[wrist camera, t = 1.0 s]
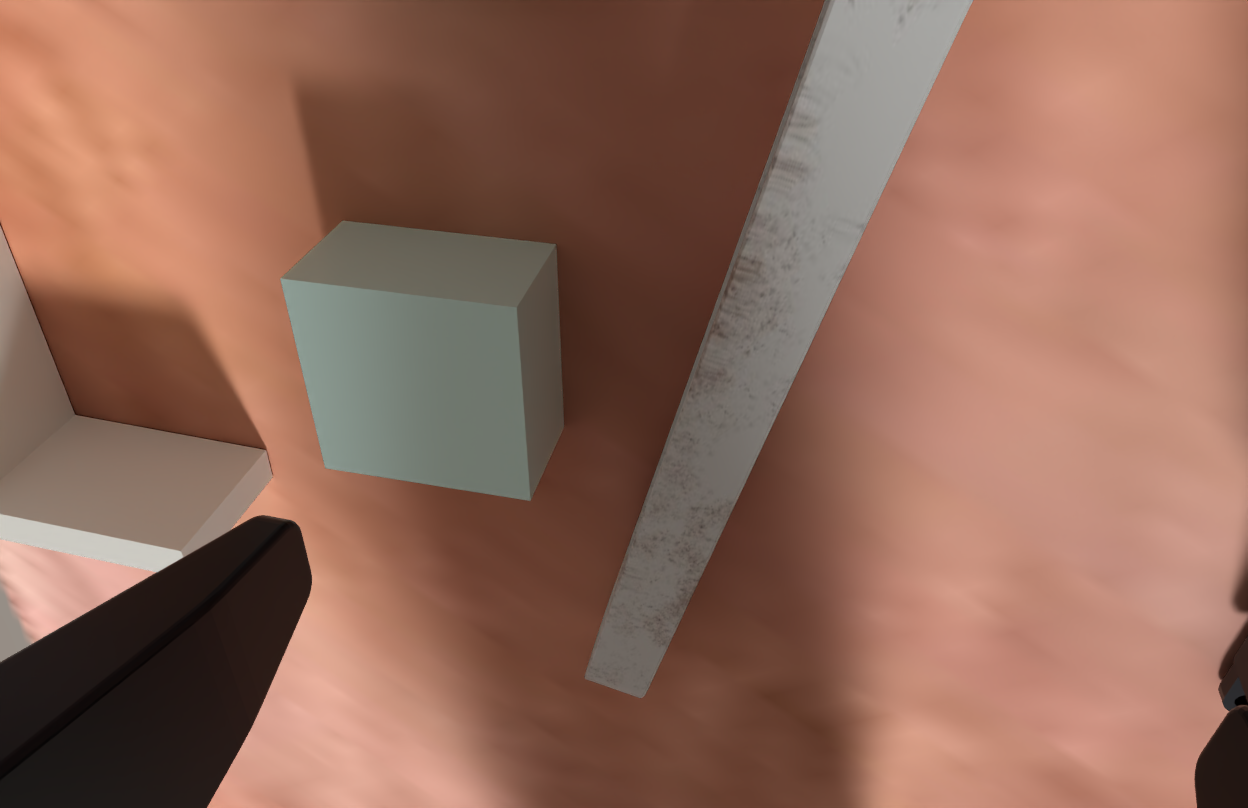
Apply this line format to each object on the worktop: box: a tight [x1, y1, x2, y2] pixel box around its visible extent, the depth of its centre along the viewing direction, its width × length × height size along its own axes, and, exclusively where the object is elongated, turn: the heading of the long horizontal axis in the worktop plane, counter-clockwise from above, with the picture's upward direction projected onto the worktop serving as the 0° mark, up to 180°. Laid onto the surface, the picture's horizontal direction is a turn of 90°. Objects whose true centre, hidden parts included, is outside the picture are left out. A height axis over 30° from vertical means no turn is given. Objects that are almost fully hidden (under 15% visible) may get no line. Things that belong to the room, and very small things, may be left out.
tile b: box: [280, 221, 564, 501], centre depth 21 cm, size 5×5×3 cm
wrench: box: [585, 0, 973, 698], centre depth 16 cm, size 8×2×30 cm
